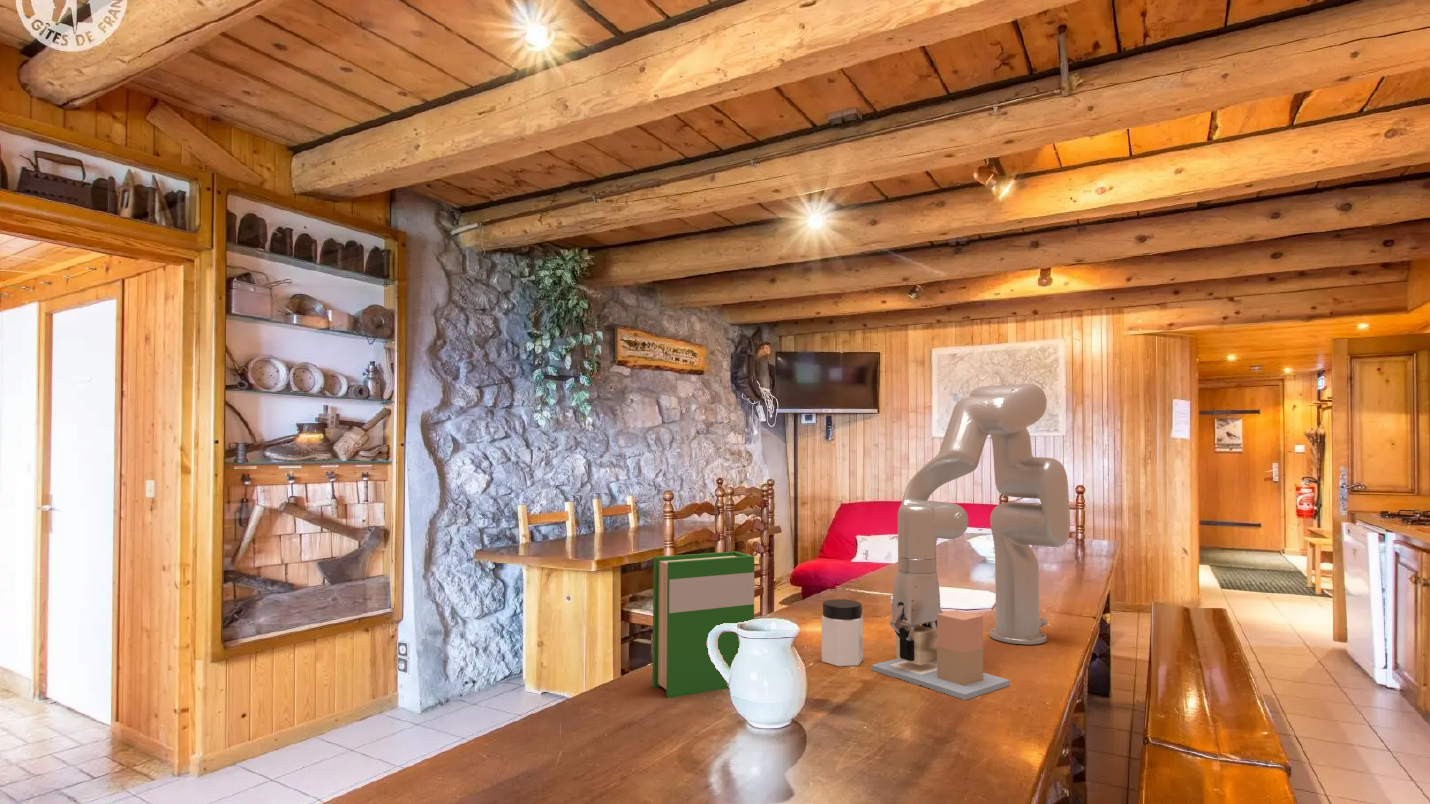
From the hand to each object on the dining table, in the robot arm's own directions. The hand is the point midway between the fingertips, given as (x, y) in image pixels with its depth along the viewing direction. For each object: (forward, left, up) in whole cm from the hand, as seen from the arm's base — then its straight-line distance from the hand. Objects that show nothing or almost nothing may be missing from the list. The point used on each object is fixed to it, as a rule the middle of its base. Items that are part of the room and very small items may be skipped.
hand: (917, 655), depth 155 cm
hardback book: (+40, -18, -3) cm, 44 cm away
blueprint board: (0, +5, -3) cm, 6 cm away
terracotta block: (0, +10, +4) cm, 11 cm away
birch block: (0, 0, -1) cm, 1 cm away
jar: (+7, -14, -3) cm, 16 cm away
